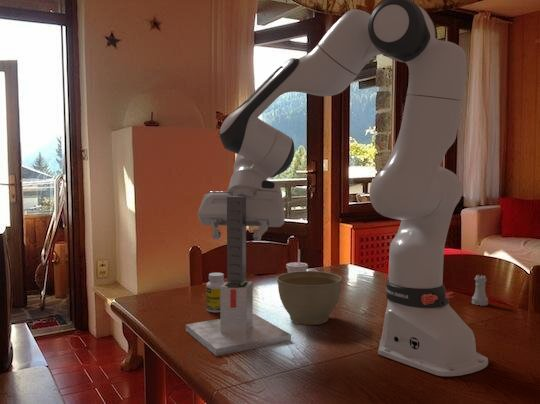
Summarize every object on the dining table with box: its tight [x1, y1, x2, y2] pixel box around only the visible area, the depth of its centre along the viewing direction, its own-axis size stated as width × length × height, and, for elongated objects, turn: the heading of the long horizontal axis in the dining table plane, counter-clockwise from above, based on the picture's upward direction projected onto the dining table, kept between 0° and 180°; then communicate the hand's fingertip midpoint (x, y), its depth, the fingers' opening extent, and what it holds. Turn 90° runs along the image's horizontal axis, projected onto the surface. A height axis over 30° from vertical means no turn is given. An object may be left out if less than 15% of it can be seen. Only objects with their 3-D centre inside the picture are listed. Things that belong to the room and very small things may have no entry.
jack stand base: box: [185, 280, 292, 357], centre depth 117 cm, size 18×18×13 cm
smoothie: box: [285, 249, 309, 273], centre depth 151 cm, size 6×6×14 cm
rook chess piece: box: [471, 274, 489, 307], centre depth 144 cm, size 4×4×8 cm
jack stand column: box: [226, 196, 247, 287], centre depth 116 cm, size 4×4×24 cm
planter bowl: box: [276, 270, 343, 326], centre depth 130 cm, size 16×16×11 cm
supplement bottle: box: [205, 272, 226, 313], centre depth 138 cm, size 5×5×10 cm
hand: (236, 238), depth 116 cm, fingers open, 8 cm apart
